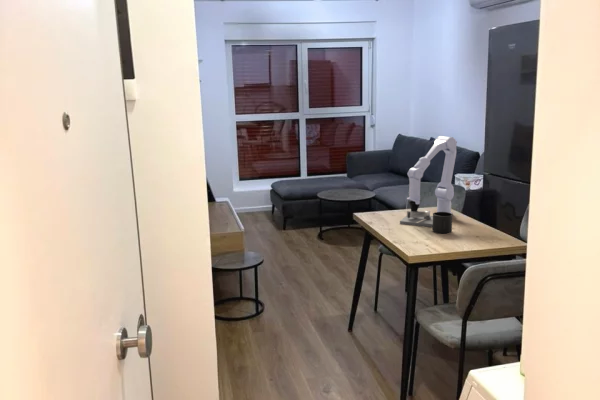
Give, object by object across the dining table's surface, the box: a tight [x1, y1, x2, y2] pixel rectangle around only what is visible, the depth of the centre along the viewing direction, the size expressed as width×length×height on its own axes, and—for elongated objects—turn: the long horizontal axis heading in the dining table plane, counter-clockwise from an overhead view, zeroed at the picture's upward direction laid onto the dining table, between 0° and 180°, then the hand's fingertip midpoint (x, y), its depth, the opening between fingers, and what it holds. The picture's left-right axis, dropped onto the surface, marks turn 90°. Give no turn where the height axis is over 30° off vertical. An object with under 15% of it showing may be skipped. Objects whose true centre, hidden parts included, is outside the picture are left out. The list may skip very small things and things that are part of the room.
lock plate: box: [399, 215, 433, 228], centre depth 290 cm, size 18×22×2 cm
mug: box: [431, 211, 453, 235], centre depth 270 cm, size 9×12×9 cm
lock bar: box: [406, 210, 431, 218], centre depth 290 cm, size 12×3×3 cm, turn 93°
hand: (414, 214), depth 295 cm, fingers closed
